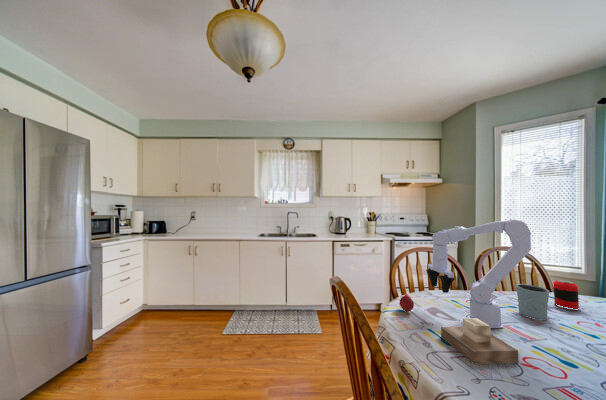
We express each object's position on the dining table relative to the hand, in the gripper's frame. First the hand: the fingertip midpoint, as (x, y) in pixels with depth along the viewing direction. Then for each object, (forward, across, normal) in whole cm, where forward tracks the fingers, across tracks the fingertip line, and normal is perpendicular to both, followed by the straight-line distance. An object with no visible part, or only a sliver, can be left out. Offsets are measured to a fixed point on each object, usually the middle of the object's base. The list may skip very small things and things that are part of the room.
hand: (439, 289), depth 99 cm
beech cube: (+6, +26, -5) cm, 27 cm away
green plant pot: (+10, +4, +40) cm, 41 cm away
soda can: (+9, -4, +66) cm, 67 cm away
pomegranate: (+11, -1, -14) cm, 18 cm away
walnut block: (+10, +26, -5) cm, 28 cm away
